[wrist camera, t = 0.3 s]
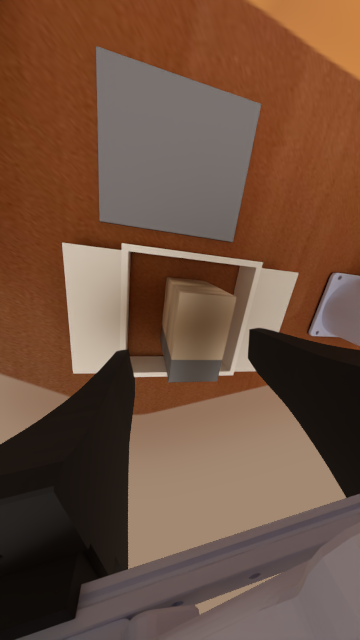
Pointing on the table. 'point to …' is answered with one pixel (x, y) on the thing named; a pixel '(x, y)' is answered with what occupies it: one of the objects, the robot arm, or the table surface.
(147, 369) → the beige hollow rectangular frame
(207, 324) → the block
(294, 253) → the table surface
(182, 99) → the mat
